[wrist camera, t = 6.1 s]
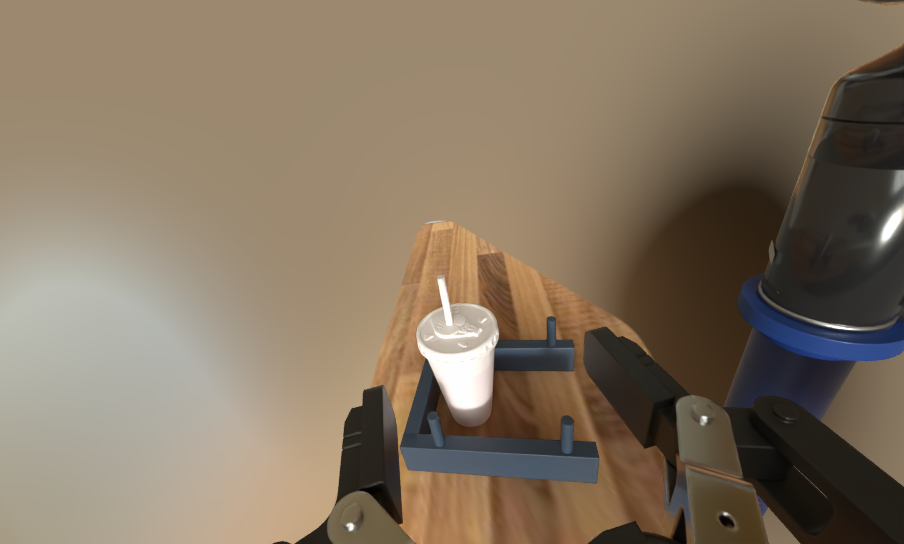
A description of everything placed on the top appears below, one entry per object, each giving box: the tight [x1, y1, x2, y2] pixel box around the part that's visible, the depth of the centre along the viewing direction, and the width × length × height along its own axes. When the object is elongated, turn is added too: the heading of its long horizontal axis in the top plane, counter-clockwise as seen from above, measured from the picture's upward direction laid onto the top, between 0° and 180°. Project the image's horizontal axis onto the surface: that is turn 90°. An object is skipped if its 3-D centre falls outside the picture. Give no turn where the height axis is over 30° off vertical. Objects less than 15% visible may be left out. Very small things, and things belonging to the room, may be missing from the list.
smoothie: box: [416, 275, 499, 427], centre depth 27 cm, size 6×6×14 cm
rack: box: [400, 316, 599, 483], centre depth 29 cm, size 14×12×6 cm
